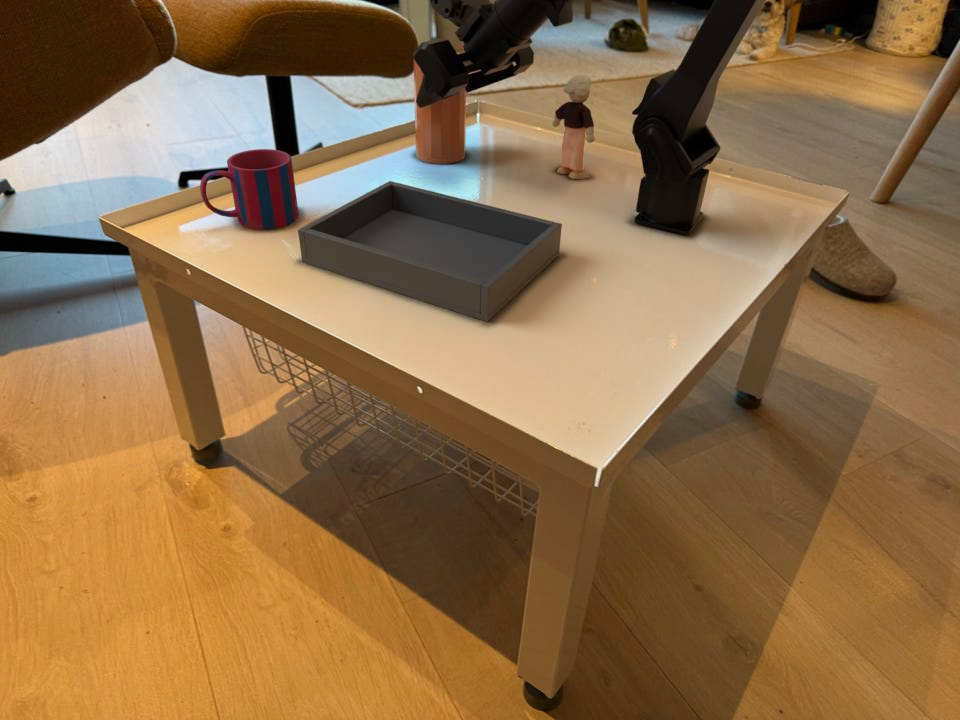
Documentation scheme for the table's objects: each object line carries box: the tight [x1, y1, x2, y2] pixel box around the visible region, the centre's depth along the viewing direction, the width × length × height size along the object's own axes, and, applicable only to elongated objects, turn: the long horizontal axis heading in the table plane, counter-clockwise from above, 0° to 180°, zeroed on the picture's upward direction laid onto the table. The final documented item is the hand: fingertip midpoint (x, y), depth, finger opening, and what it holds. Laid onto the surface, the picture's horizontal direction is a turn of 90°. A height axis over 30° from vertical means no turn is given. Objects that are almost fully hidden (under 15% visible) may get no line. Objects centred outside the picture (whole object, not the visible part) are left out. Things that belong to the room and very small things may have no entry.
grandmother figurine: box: [551, 72, 596, 180], centre depth 90 cm, size 8×4×13 cm, turn 46°
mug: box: [199, 148, 300, 231], centre depth 76 cm, size 7×10×7 cm
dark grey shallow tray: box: [297, 180, 563, 323], centre depth 71 cm, size 22×16×4 cm
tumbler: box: [412, 52, 467, 165], centre depth 94 cm, size 7×7×13 cm
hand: (440, 97), depth 93 cm, fingers open, 9 cm apart
